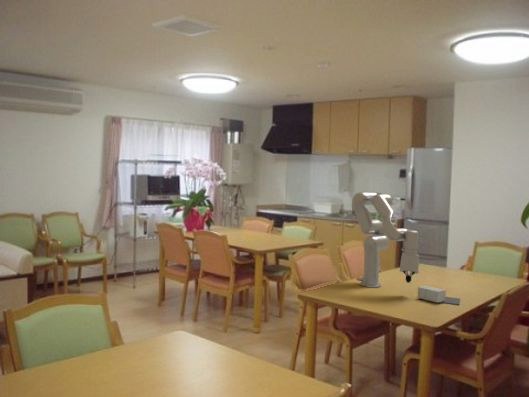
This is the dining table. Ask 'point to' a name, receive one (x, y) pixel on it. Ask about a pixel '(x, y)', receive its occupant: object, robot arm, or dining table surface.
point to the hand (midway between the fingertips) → (408, 282)
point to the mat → (450, 301)
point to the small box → (431, 293)
